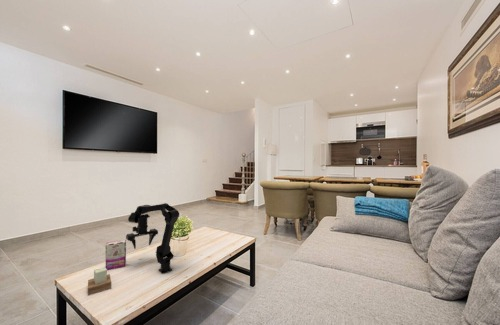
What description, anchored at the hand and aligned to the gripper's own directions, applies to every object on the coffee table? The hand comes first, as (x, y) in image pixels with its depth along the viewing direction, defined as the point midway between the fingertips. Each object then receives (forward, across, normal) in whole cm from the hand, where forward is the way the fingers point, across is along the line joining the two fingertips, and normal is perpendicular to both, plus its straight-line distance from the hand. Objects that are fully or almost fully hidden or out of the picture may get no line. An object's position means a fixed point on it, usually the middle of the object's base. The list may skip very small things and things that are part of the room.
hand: (142, 246), depth 140 cm
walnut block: (+12, +25, +12) cm, 31 cm away
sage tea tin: (+8, +25, +12) cm, 29 cm away
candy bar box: (+12, +14, -9) cm, 20 cm away
